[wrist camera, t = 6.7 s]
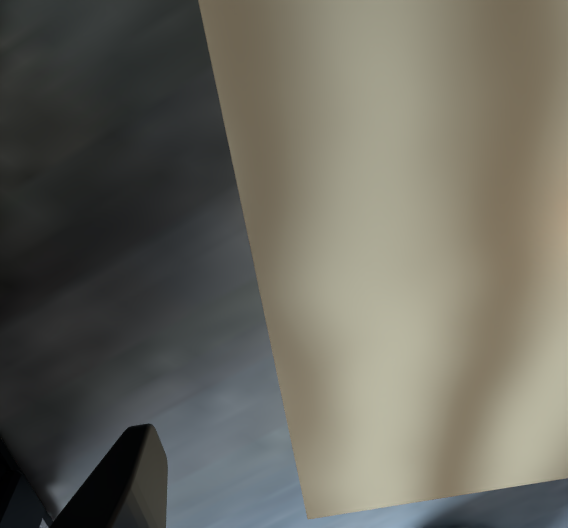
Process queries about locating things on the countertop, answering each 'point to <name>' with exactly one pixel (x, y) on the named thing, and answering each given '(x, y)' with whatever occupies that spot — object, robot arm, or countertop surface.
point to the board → (406, 235)
